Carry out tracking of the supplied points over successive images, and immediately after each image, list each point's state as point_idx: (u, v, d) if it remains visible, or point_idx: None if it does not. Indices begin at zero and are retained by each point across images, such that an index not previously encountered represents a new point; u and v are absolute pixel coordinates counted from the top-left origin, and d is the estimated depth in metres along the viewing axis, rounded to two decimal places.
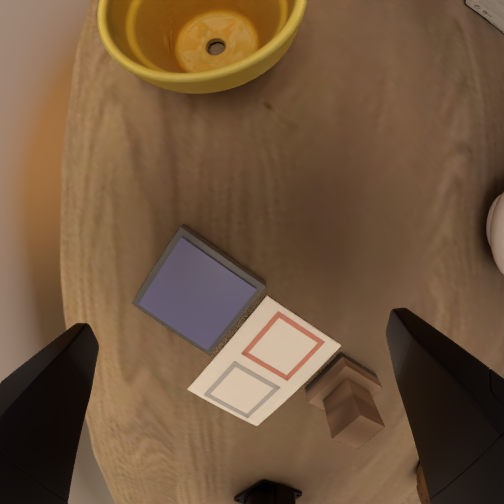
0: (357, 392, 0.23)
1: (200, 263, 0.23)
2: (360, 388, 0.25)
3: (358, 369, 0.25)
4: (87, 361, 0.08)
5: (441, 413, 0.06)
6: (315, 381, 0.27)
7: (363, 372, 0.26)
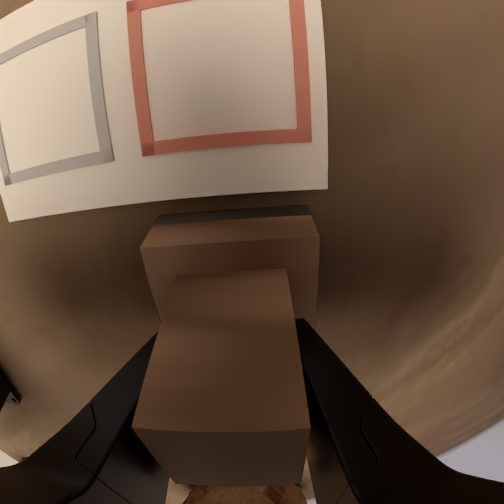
0: None
1: None
2: None
3: None
4: None
5: (315, 438, 0.06)
6: (195, 218, 0.10)
7: None
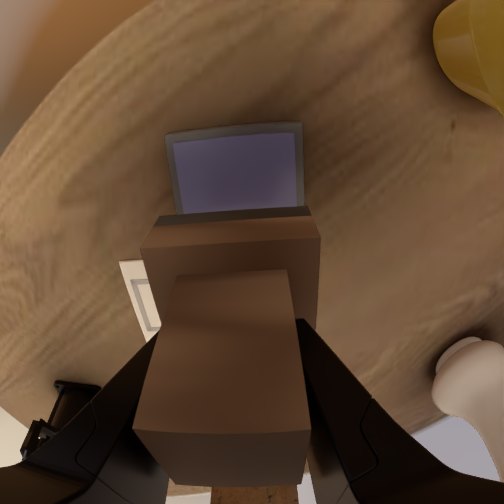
0: None
1: (281, 171, 0.18)
2: None
3: None
4: None
5: (315, 438, 0.06)
6: (196, 219, 0.10)
7: None
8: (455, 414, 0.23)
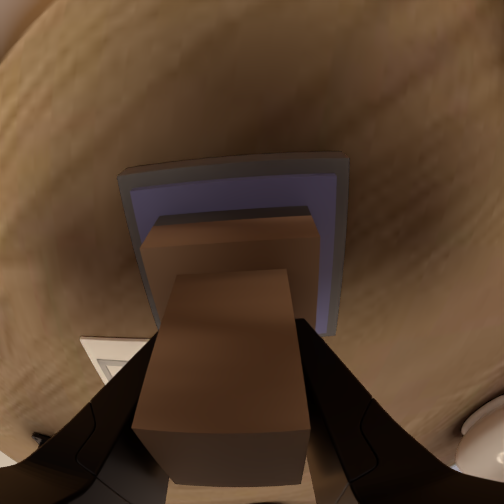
0: None
1: None
2: None
3: None
4: None
5: (315, 439, 0.06)
6: (196, 218, 0.10)
7: None
8: None
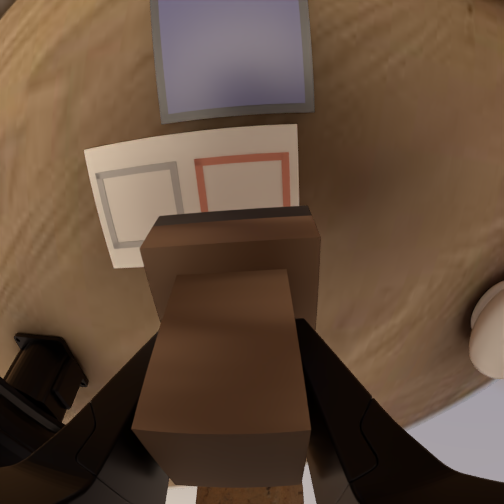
0: None
1: (283, 17, 0.12)
2: None
3: None
4: None
5: (315, 439, 0.06)
6: (196, 218, 0.10)
7: None
8: (499, 373, 0.18)
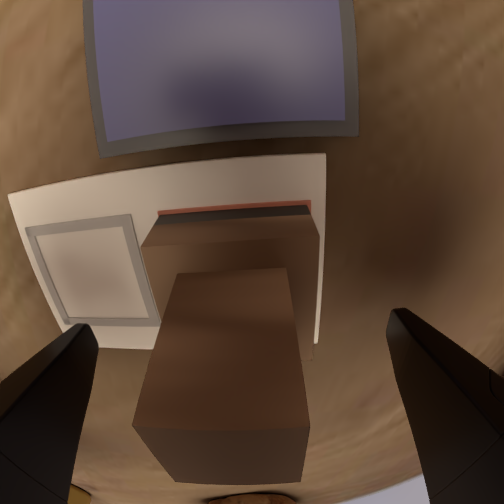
0: None
1: None
2: None
3: None
4: (87, 361, 0.08)
5: (441, 413, 0.06)
6: (196, 218, 0.10)
7: None
8: None
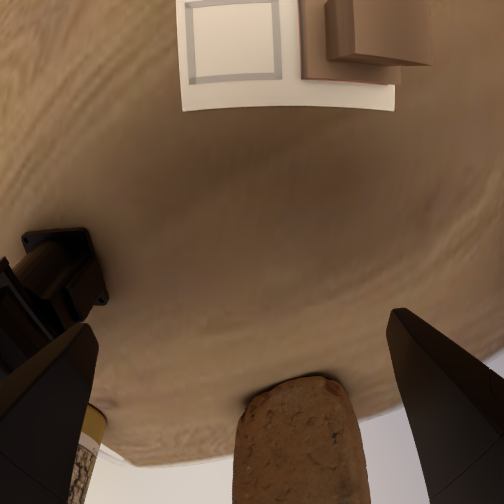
0: None
1: None
2: None
3: None
4: (87, 361, 0.08)
5: (441, 413, 0.06)
6: None
7: None
8: None
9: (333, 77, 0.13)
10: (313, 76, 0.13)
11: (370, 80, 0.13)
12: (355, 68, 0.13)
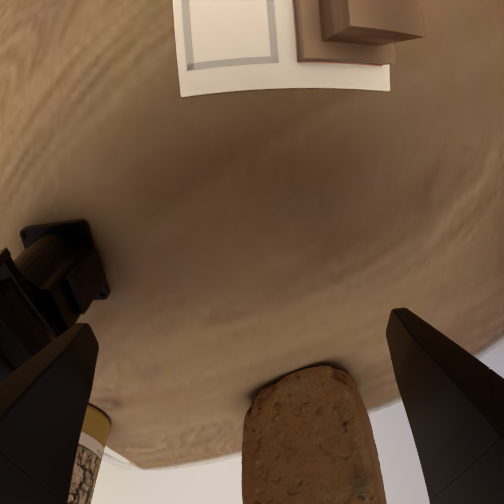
0: None
1: None
2: None
3: None
4: (87, 361, 0.08)
5: (441, 413, 0.06)
6: None
7: None
8: None
9: (329, 57, 0.13)
10: (309, 56, 0.13)
11: (365, 59, 0.13)
12: (350, 48, 0.13)
